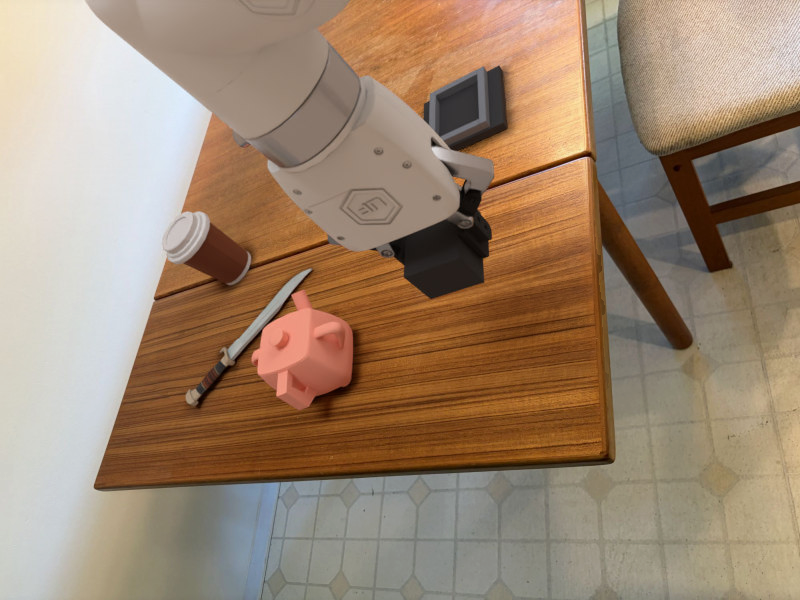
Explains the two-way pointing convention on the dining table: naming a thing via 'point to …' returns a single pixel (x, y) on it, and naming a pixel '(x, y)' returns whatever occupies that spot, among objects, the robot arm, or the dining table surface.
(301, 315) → the teapot
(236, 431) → the dining table surface
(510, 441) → the dining table surface
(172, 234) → the coffee cup
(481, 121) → the base pad
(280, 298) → the knife
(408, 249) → the black block
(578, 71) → the dining table surface
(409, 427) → the dining table surface
